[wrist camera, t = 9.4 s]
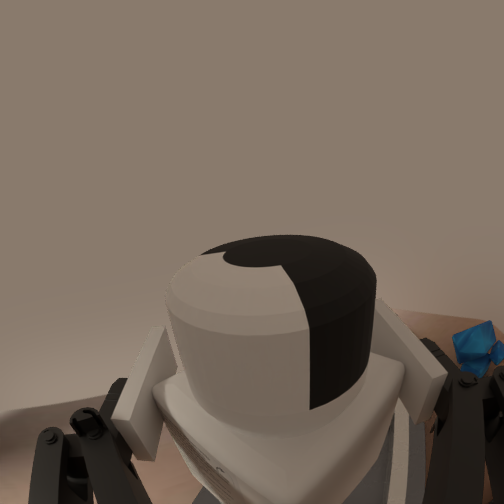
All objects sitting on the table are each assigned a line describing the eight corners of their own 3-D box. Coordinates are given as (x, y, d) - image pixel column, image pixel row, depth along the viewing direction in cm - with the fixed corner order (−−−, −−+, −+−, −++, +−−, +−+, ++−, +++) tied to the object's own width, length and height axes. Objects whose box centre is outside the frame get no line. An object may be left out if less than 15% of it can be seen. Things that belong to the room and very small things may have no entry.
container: (281, 408, 18) (263, 217, 14) (379, 457, 12) (427, 235, 9) (190, 474, 13) (106, 267, 9) (290, 554, 8) (279, 373, 4)
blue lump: (521, 323, 25) (500, 346, 20) (498, 379, 27) (467, 413, 22) (481, 306, 31) (448, 321, 26) (462, 359, 33) (424, 385, 28)
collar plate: (187, 518, 17) (175, 505, 16) (262, 388, 35) (260, 368, 34) (414, 554, 10) (429, 545, 9) (420, 400, 27) (427, 379, 26)
